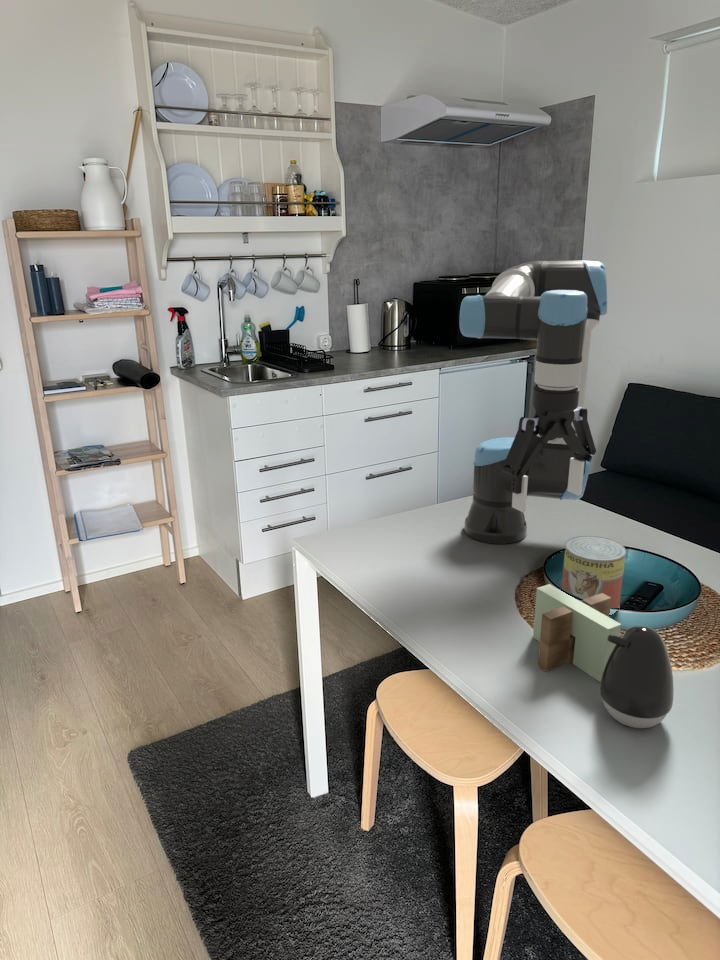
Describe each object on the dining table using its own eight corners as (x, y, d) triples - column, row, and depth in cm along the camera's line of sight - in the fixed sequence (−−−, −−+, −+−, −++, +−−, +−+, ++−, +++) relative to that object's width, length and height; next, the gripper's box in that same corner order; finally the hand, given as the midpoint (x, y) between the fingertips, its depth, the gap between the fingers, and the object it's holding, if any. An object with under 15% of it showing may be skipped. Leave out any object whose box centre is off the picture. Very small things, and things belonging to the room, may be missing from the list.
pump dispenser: (585, 697, 109) (594, 612, 104) (648, 693, 110) (661, 608, 105) (612, 741, 99) (625, 650, 94) (682, 736, 100) (698, 646, 95)
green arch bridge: (545, 632, 127) (549, 584, 124) (614, 677, 114) (621, 624, 111) (532, 637, 126) (536, 588, 122) (601, 683, 113) (608, 629, 109)
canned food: (551, 606, 136) (556, 551, 132) (570, 584, 145) (575, 531, 141) (610, 623, 130) (617, 565, 126) (626, 598, 139) (633, 544, 135)
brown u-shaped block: (596, 642, 124) (602, 592, 120) (605, 648, 122) (611, 597, 119) (537, 665, 117) (542, 613, 114) (546, 671, 116) (550, 619, 112)
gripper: (591, 372, 126) (580, 480, 134) (484, 391, 114) (479, 509, 122) (625, 379, 120) (611, 492, 127) (516, 400, 108) (508, 524, 116)
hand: (547, 501), depth 125 cm, fingers open, 13 cm apart
